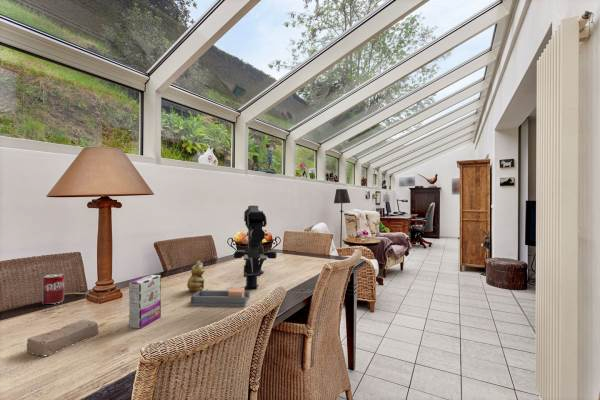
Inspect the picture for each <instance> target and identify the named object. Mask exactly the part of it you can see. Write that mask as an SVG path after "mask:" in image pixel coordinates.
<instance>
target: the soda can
mask: <svg viewBox="0 0 600 400" xmlns="http://www.w3.org/2000/svg"><path fill="white" fill-rule="evenodd" d="M41 291H42V293H41V294H42V296H41V297H42V298H41V300H42V302H41V303H42V304H43V305H44V304H54V305H57V304H56V303H58V304H60V302H61V303H63V301H64V300H65V274H64V273H51V274H46V275H44V276H43V277H42V290H41Z"/></svg>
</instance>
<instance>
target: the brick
mask: <svg viewBox="0 0 600 400" xmlns="http://www.w3.org/2000/svg"><path fill="white" fill-rule="evenodd" d="M99 329H100V328H99V325H98V322H96V321H94V320H88V319H81V320H77V321H76V322H72V323H70V324H67V325H64V326H62V327H61V328H58V329H53V330H50V331H48V332H44V333H41V334H37V335H33V336H31V337H28V338H27V339H26V341H27V342H26V351H27V352H28V353H30V354H31V353H33V354H32V355H35V354H37V355H41V356H40V357H43V356H44V355H48V356H50V355H49V354H51V353H54V352H56V351H58V350H61V349H63V348H66V347H68V346H70V347H72V346H73V345H72V344H75V343H77V342H79V343H81V342H83V341H82V340H84V339H86V340H88V339H91V338H92V337H94V336H97V335H98V334H99ZM87 338H88V339H87ZM80 341H81V342H80ZM84 341H85V340H84ZM77 344H78V343H77ZM71 345H72V346H71ZM75 345H76V344H75ZM68 348H69V347H68ZM66 349H67V348H66ZM63 350H64V349H63ZM61 351H62V350H61ZM58 352H59V351H58ZM56 353H57V352H56ZM54 354H55V353H54ZM37 355H36V356H37ZM51 355H52V354H51Z"/></svg>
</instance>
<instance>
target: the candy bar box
mask: <svg viewBox="0 0 600 400" xmlns="http://www.w3.org/2000/svg"><path fill="white" fill-rule="evenodd" d="M161 280H162V276H161V275H159V274H150V275H146V276H144V277H141V278H138V279H136V280H132V281H130V282H129V283H128V285H129V286H128V288H129V290H128V291H129V292H128V294H129V295H128V296H129V301H128V302H129V305H128V306H129V308H128V309H129V310H128V311H129V312H128V314H129V319H128V320H129V326H128V327H129V329H130V328H131V329H142V328H144V327H146V326H147V325H149V324H151V323H153V322H154V321H156V320H158V319H159V318H161V317H162V314H161V313H162V287H161V286H162V285H161V284H162V281H161Z"/></svg>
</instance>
